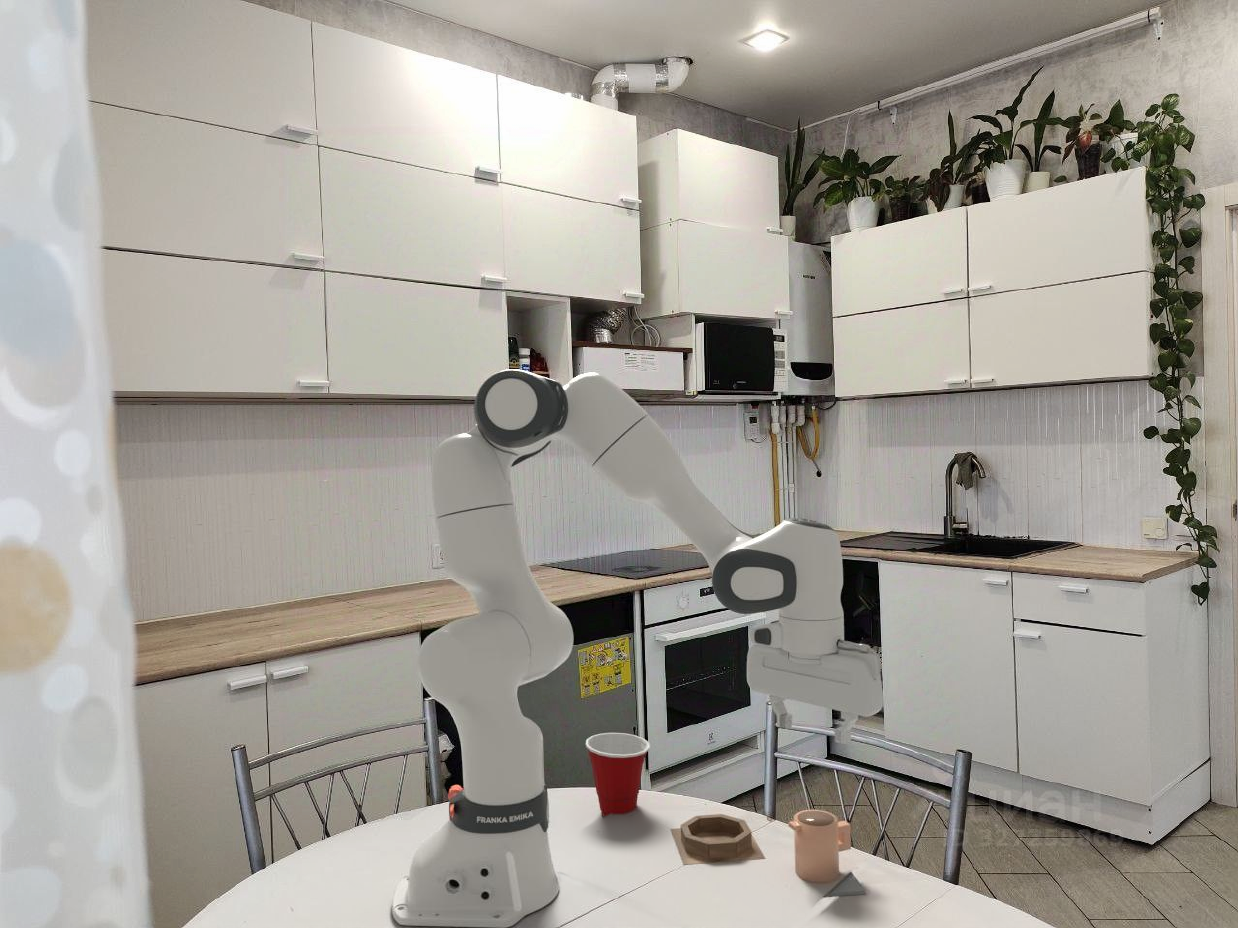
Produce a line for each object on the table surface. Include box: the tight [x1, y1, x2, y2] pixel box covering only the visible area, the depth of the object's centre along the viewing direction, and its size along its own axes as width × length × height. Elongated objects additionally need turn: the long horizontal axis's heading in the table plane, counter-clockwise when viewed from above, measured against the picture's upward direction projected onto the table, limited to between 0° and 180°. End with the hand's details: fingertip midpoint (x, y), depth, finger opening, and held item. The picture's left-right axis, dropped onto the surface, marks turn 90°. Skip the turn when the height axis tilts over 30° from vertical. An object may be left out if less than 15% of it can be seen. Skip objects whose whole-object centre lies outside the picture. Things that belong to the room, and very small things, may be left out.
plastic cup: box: [585, 732, 651, 817], centre depth 146 cm, size 11×11×12 cm
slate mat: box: [823, 871, 866, 898], centre depth 122 cm, size 10×10×1 cm
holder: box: [670, 813, 766, 866], centre depth 132 cm, size 12×12×3 cm
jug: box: [788, 809, 852, 884], centre depth 122 cm, size 9×6×8 cm, turn 111°
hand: (812, 734), depth 122 cm, fingers open, 8 cm apart
